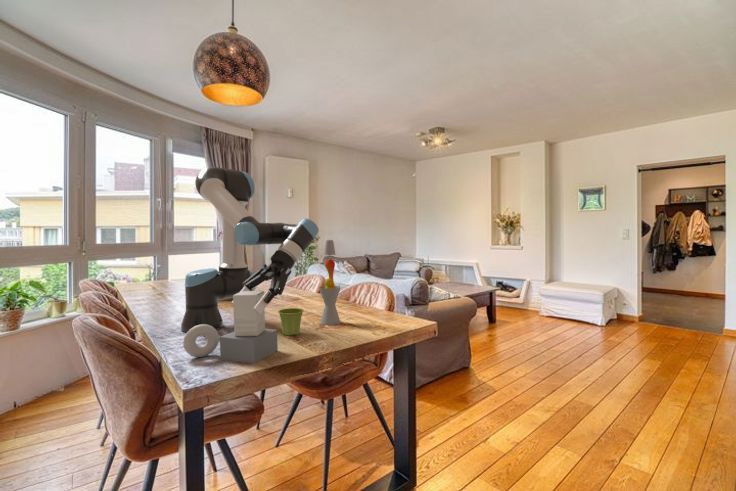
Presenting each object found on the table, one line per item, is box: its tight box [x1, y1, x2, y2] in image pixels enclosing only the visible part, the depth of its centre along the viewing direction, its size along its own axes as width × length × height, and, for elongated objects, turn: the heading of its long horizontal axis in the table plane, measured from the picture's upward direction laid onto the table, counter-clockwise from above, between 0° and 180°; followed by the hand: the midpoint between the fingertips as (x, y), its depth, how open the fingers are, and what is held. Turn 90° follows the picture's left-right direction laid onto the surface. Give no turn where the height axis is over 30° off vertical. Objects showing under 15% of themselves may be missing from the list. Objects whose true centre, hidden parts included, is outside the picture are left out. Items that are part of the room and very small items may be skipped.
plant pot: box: [277, 307, 304, 336], centre depth 133 cm, size 9×9×9 cm
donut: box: [182, 324, 220, 358], centre depth 108 cm, size 10×4×10 cm, turn 124°
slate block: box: [219, 328, 279, 364], centre depth 109 cm, size 12×12×7 cm
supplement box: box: [232, 290, 266, 336], centre depth 109 cm, size 7×7×13 cm
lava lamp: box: [319, 239, 341, 326], centre depth 149 cm, size 9×9×35 cm
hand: (245, 308), depth 108 cm, fingers open, 13 cm apart
